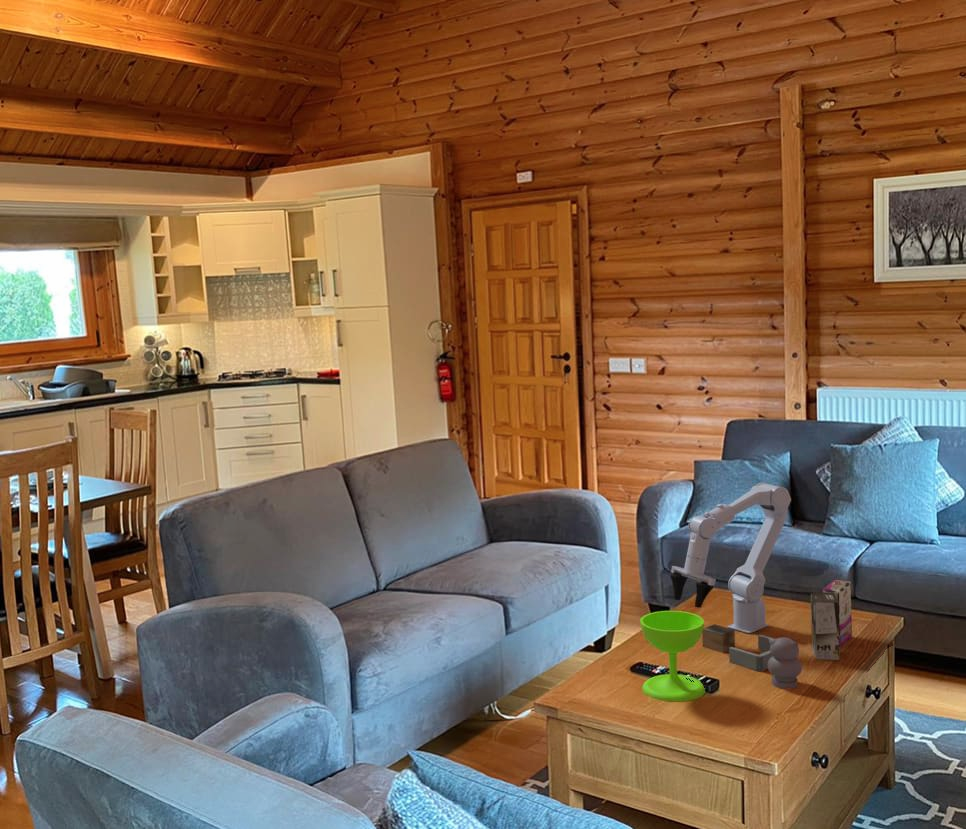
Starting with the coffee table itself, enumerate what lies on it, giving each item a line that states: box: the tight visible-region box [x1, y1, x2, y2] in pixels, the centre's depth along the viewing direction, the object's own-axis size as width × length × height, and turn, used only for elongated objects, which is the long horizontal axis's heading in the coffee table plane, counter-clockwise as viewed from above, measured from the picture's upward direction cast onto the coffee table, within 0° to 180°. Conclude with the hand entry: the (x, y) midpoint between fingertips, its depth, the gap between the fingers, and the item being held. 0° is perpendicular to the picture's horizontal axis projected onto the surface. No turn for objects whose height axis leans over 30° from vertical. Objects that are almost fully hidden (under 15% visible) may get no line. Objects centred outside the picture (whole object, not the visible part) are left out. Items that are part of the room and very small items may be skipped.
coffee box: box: [810, 592, 840, 661], centre depth 265 cm, size 9×6×16 cm
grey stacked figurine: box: [767, 637, 803, 690], centre depth 247 cm, size 8×8×12 cm
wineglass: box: [639, 610, 706, 703], centre depth 247 cm, size 16×16×18 cm
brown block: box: [701, 623, 736, 654], centre depth 275 cm, size 6×7×5 cm
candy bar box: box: [821, 579, 853, 649], centre depth 274 cm, size 11×5×16 cm, turn 143°
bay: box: [728, 634, 776, 672], centre depth 264 cm, size 14×10×4 cm
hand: (687, 603), depth 281 cm, fingers open, 7 cm apart
